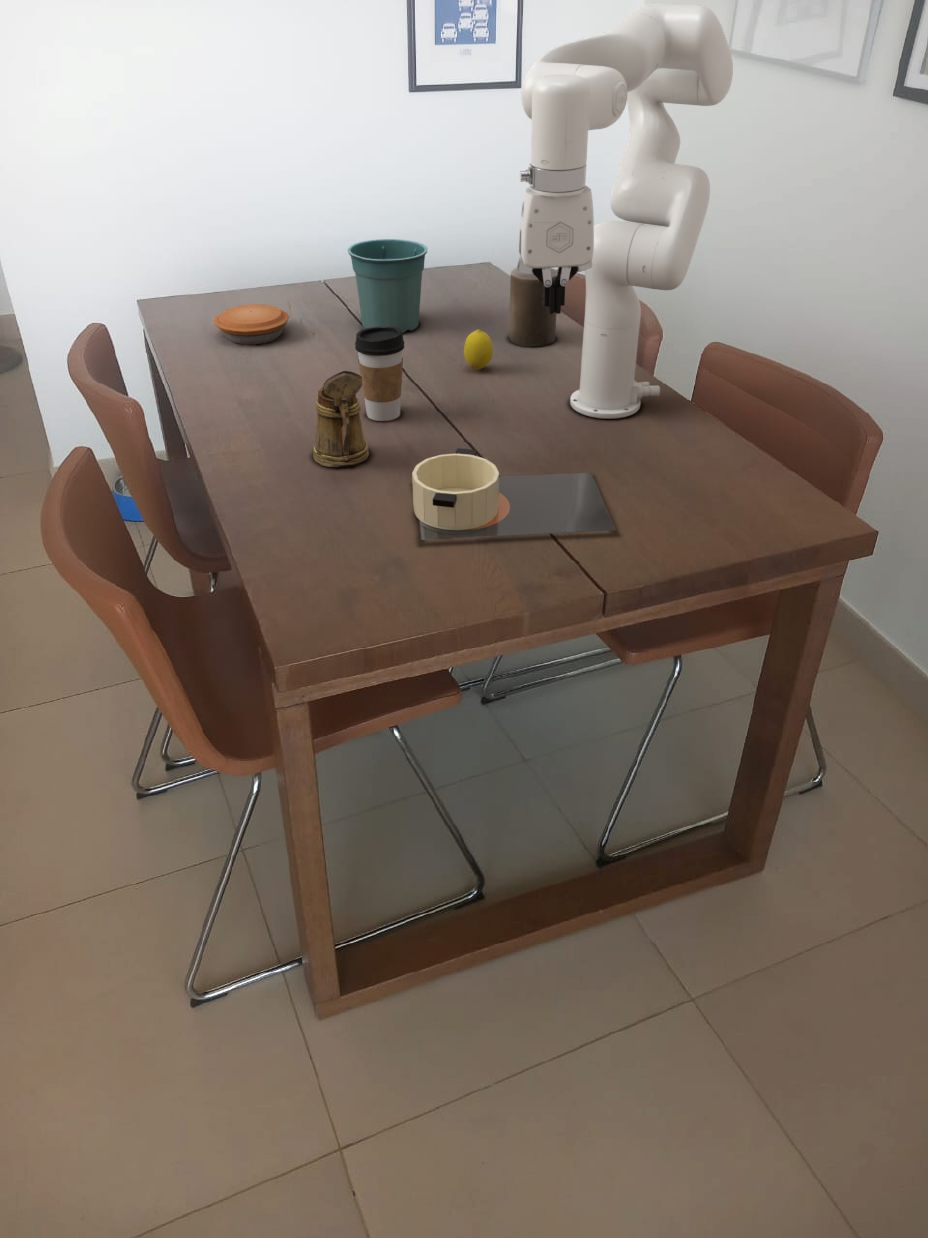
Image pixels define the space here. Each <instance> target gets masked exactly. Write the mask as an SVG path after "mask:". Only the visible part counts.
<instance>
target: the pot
mask: <svg viewBox="0 0 928 1238" xmlns="http://www.w3.org/2000/svg"><path fill="white" fill-rule="evenodd" d="M499 477H500V472H499V470H498V468H497V465H496V464H494V463H493V462H491V461H490V460H488V459H486V458H484V457H480V456H478V450H477V449H471V448H462V447H461V448H460V447H457V449H456V450H455V453H445V454H439V455H435V456H431V457H428V458H425V459H424V460H422V461H420V462H418V463H417V464H416V465H415V467H414V469H413V471H412V473H411V479H412V483H411V484H412V505H413V511H414V515H415V517H416V518H417V519H418V521H419V520H420V521H422V522H423V523H425V524H427V525H429V526H431V527H435V528H439V529H444V530H467V529H472V528H476V527H480V526H482V525H485V524H487V523H488V522H490V521H491V520H492V519H493V518H494V517H495V516H496V514H497V511H498V506H499Z"/></svg>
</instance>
